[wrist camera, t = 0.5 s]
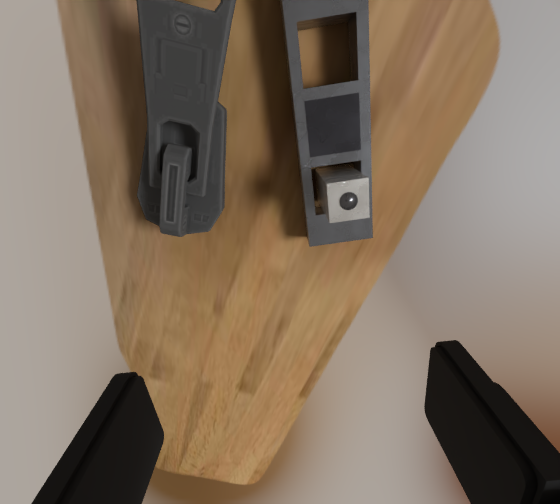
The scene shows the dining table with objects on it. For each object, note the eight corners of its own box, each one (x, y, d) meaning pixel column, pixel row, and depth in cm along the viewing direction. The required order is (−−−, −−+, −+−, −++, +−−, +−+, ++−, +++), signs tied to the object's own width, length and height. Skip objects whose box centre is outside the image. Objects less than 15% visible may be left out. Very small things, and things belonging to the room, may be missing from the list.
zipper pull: (254, -75, 20) (209, 257, 30) (259, -31, 26) (220, 233, 36) (116, -118, 19) (116, 239, 29) (154, -61, 25) (143, 218, 35)
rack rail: (278, -15, 26) (278, -31, 24) (357, -29, 26) (367, -46, 23) (306, 236, 36) (309, 246, 33) (365, 228, 36) (372, 238, 33)
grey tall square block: (314, 169, 33) (326, 183, 26) (347, 164, 33) (368, 177, 25) (317, 200, 34) (329, 223, 27) (349, 196, 34) (369, 217, 27)
